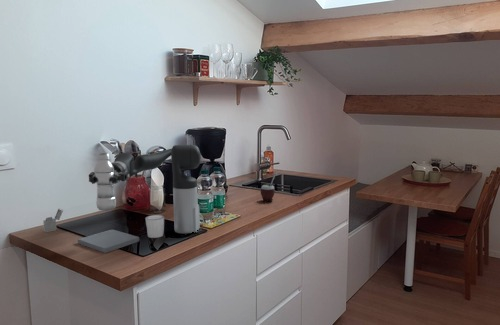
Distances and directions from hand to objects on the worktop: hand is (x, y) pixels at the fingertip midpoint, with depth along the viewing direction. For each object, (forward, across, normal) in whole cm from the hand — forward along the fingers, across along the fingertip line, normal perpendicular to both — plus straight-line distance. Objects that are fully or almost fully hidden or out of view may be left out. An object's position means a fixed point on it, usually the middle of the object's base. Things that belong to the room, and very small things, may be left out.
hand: (102, 180), depth 138 cm
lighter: (-19, +25, -23) cm, 39 cm away
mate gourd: (-58, -64, -23) cm, 89 cm away
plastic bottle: (-2, 0, -11) cm, 12 cm away
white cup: (-9, -16, -23) cm, 29 cm away
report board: (-2, 0, -23) cm, 23 cm away
